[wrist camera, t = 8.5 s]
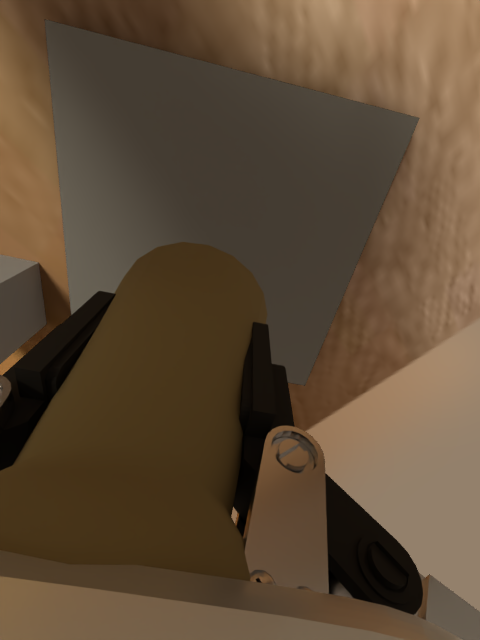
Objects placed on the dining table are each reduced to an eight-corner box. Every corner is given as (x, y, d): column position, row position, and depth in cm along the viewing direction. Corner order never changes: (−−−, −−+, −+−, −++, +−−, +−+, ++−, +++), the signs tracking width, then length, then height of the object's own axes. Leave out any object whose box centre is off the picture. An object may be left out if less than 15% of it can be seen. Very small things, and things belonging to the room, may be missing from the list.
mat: (57, 27, 14) (44, 19, 13) (410, 119, 16) (419, 117, 15) (80, 335, 23) (73, 342, 22) (303, 377, 24) (304, 385, 24)
